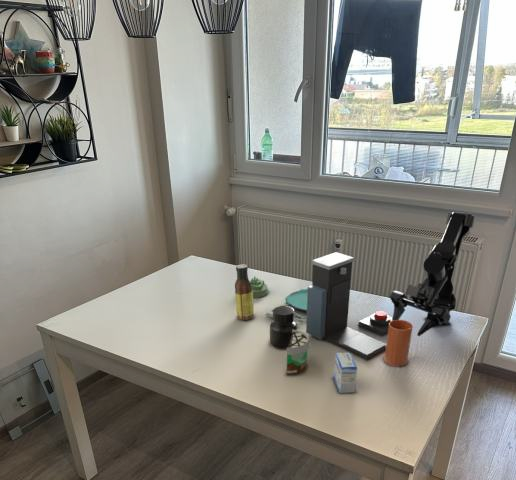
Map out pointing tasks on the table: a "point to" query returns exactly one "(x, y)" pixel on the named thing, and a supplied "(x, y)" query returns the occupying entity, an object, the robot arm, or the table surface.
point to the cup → (398, 342)
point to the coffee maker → (335, 307)
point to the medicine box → (345, 372)
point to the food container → (297, 352)
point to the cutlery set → (296, 302)
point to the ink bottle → (282, 327)
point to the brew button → (380, 315)
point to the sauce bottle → (243, 294)
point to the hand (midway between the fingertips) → (404, 330)
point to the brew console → (376, 324)
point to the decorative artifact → (258, 287)
